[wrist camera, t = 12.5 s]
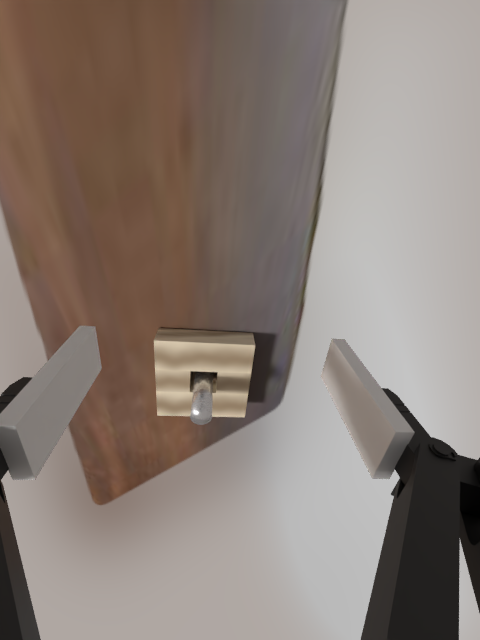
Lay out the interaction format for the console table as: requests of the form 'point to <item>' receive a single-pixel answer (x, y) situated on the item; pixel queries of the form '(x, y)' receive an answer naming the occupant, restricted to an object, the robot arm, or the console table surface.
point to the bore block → (202, 369)
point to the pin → (202, 398)
